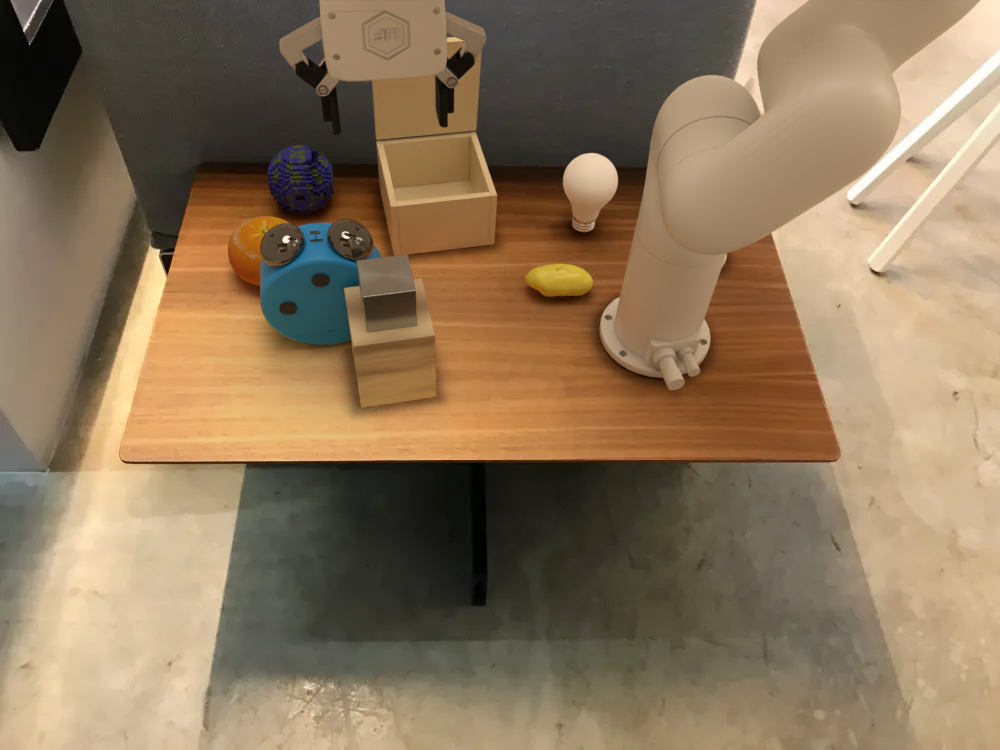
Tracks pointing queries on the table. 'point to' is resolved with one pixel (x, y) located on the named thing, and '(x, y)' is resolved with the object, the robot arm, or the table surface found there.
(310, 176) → the ball
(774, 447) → the table surface
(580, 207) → the light bulb
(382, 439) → the table surface
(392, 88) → the wooden box lid
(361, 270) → the steel block
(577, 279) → the yellow potato
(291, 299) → the alarm clock
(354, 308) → the block
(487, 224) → the open storage bin
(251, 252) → the fruit
